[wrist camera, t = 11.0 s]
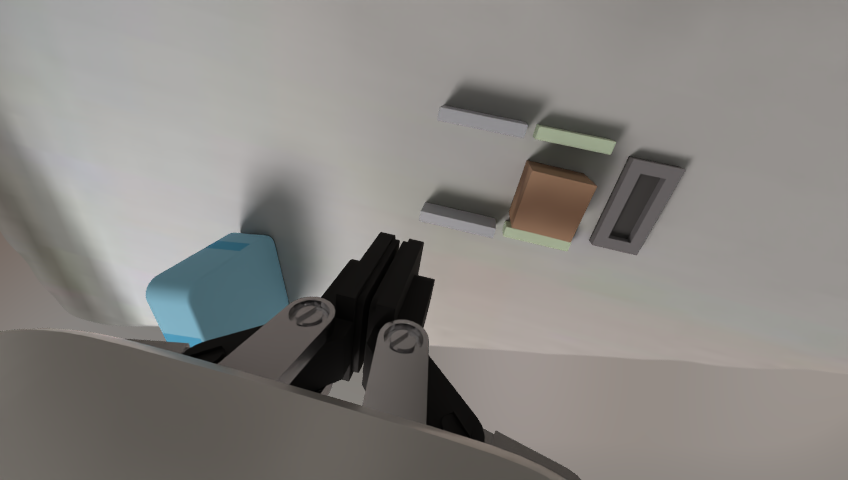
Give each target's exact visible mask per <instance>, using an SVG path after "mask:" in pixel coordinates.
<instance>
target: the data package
mask: <svg viewBox="0 0 848 480" xmlns="http://www.w3.org/2000/svg"><path fill="white" fill-rule="evenodd" d="M146 299H147V302H148V304H149V306H150V308H151V310H152V312H153V314H154V316H155V318H156V320H157V322H158V324H159V327H160V329H161V331H162V333H163V335H164V337H165V339H166V341H167V342H180V343H189V345H190V347H193V346H194V345H196V344H199V343H201V342H204V341H207V340H211V339H214V338H218V337H222V336H225V335H229V334H232V333H236V332H240V331H243V330H247V329H251V328H254V327H258V326H261V325H265V324H266V323H267V322H268V321H269V320H271V319H272V318H273V317H274V316H275V315H277V314H278V313H279V312H280V311H281V310H283V309H284V308H285V307H286V306H287V305H289V301H288V297H287V293H286V289H285V285H284V281H283V276H282V272H281V268H280V264H279V260H278V256H277V252H276V247H275V243H274V241H273V239H272V238H271V237H270V236H267V235H256V234H244V233H230V234H228V235H227V236H225V237H223V238H221V239H220V240H218V241H216V242H214V243H213V244H211V245H209V246H208V247H206V248H204V249H202V250H201V251H199V252H197V253H195V254H194V255H192V256H190V257H188V258H187V259H185V260H183V261H182V262H180V263H178V264H176V265H175V266H173V267H171V268H169V269H168V270H166V271H164V272H162V273H161V274H159V275H157V276H156V277H155V278H153V279H152V280H151V282H150V283H149V285H148V287H147V290H146Z"/></svg>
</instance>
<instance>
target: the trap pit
mask: <svg viewBox="0 0 848 480" xmlns="http://www.w3.org/2000/svg"><path fill="white" fill-rule="evenodd" d="M684 172H685V169H683V168H681V167H678V166H673V165H668V164H663V163H659V162H654V161H649V160H644V159H639V158H634V157H630V156H629V158H628V160H627V162H626V164H625V166H624V168H623V170H622V172H621V174H620V176H619V179H618V181H617V183H616V185H615V187H614V189H613V191H612V193H611V195H610V197H609V199H608V202H607V204H606V206H605V208H604V210H603V212H602V214H601V216H600V218H599V220H598V223H597V225H596V227H595V229H594V231H593V233H592V235H591V237H590V239H589V241H590V242H591V244H592V245H595V246H599V247H603V248H608V249H612V250H616V251H620V252H625V253H629V254H633V255H637V254H638V252H639V250H640V249H641V247H642V245H643V243H644V242H645V240H646V238H647V237H648V235H649V233H650V231H651V230H652V228H653V226H654V224H655V223H656V221H657V219H658V217H659V216H660V214H661V212H662V210H663V209H664V207H665V205H666V203H667V202H668V200H669V198H670V196H671V195H672V193H673V191H674V189H675V188H676V186H677V184H678V182H679V181H680V179H681V177H682V175H683V174H684Z"/></svg>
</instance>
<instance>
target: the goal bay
mask: <svg viewBox="0 0 848 480" xmlns="http://www.w3.org/2000/svg"><path fill="white" fill-rule="evenodd" d="M533 137H534V138H535V139H537V140H542V141H547V142H551V143H556V144H561V145H566V146H571V147H575V148H580V149H585V150H590V151H595V152H599V153H604V154H609V155H611V153H612V151H613V148H614V146H615V144H616V142H615V141H613V140H611V139H607V138H602V137H597V136H592V135H587V134H583V133H578V132H573V131H568V130H563V129H558V128H553V127H548V126H543V125H539V124H537V125H536V128H535V131H534V134H533ZM503 236H504V237H508V238H513V239H517V240H521V241H525V242H529V243H534V244H538V245H542V246H546V247H550V248H555V249H559V250H563V251H568V249H569V246H570V244H571V242H566V241H562V240H558V239H554V238H550V237H546V236H542V235H539V234H535V233H531V232H527V231H523V230H519V229H515V228H512V227H511V222H509V221H505V224H504V227H503Z"/></svg>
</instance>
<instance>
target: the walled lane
mask: <svg viewBox="0 0 848 480" xmlns="http://www.w3.org/2000/svg"><path fill="white" fill-rule="evenodd" d="M437 120H438V121H443V122H448V123H453V124H457V125H462V126H467V127H472V128H477V129H481V130H486V131H491V132H496V133H500V134H505V135H510V136H515V137H520V138H524V137H525V133H526V130H527V127H528V125H527V123H526V122H524V121H519V120H514V119H509V118H504V117H499V116H495V115H490V114H485V113H480V112H475V111H470V110H465V109H460V108H455V107H451V106H446V105H443V106H441V107H439V113H438V118H437ZM419 221H422V222H426V223H430V224H435V225H439V226H443V227H447V228H451V229H456V230H460V231H464V232H468V233H472V234H477V235H481V236H485V237H489V238H493V236H494V233H495V229H496V223H495V218H492V217H488V216H483V215H479V214H475V213H470V212H466V211H462V210H458V209H453V208H449V207H445V206H440V205H436V204H432V203H427V202H425V204H424V206H423V208H422V210H421V212H420V218H419Z"/></svg>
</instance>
